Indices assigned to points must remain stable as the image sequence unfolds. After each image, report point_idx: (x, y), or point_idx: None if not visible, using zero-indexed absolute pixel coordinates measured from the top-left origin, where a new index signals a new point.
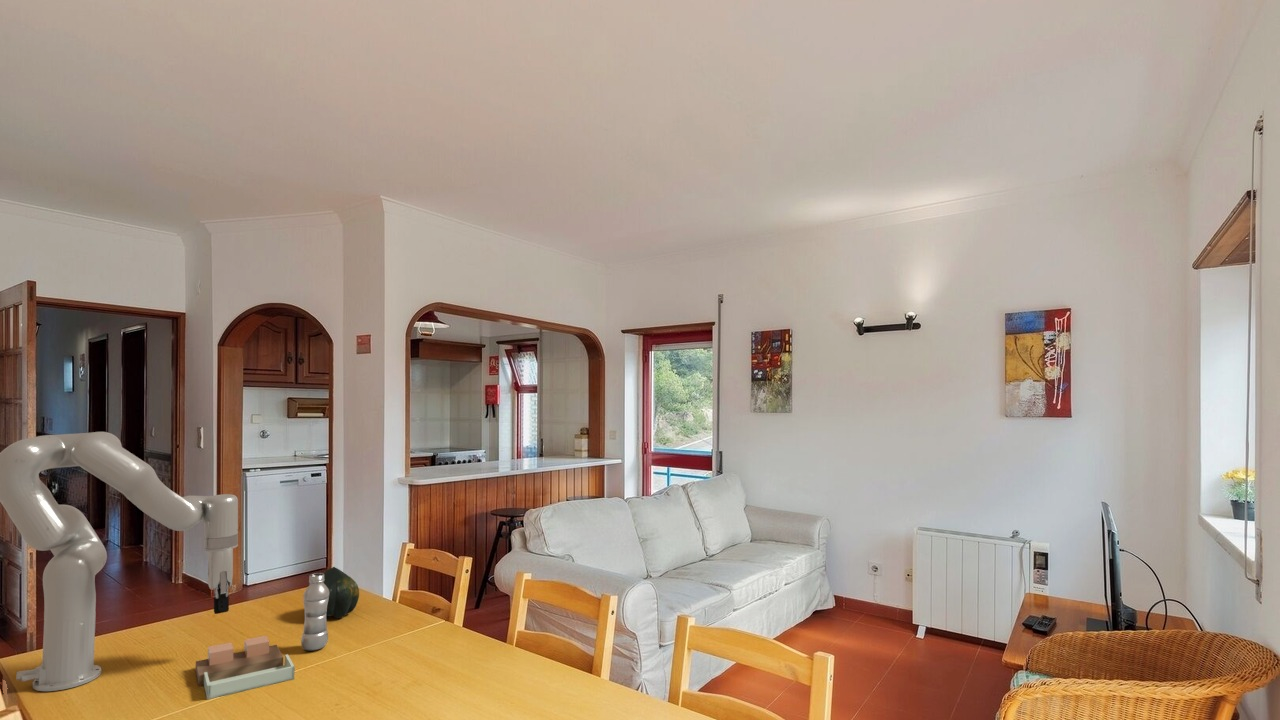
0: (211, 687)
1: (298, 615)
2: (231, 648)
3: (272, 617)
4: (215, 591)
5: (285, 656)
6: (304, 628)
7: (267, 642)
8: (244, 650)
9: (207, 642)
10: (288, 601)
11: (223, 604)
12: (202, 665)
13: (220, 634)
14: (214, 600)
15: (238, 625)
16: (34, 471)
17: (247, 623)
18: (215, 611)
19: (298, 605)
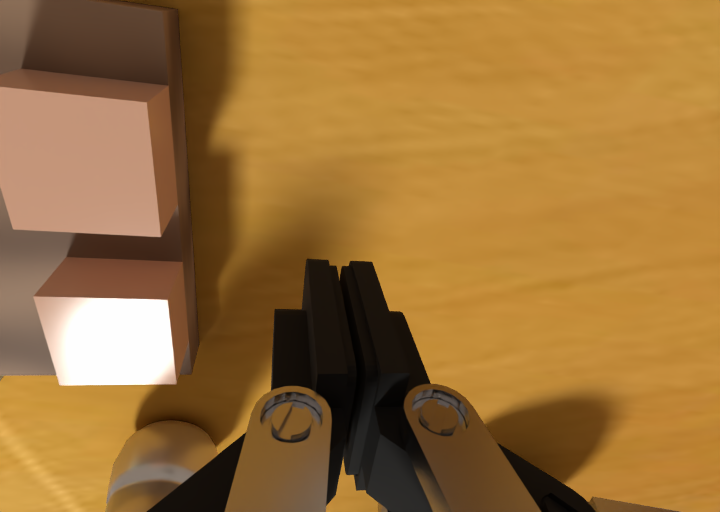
0: None
1: (553, 437)
2: (23, 220)
3: (613, 382)
4: (423, 468)
5: None
6: (137, 505)
7: (59, 375)
8: (169, 265)
9: (573, 152)
10: (707, 431)
11: (271, 384)
12: (47, 30)
13: (619, 216)
14: (315, 357)
15: (651, 287)
16: None
17: (639, 314)
18: (308, 276)
19: (642, 446)
